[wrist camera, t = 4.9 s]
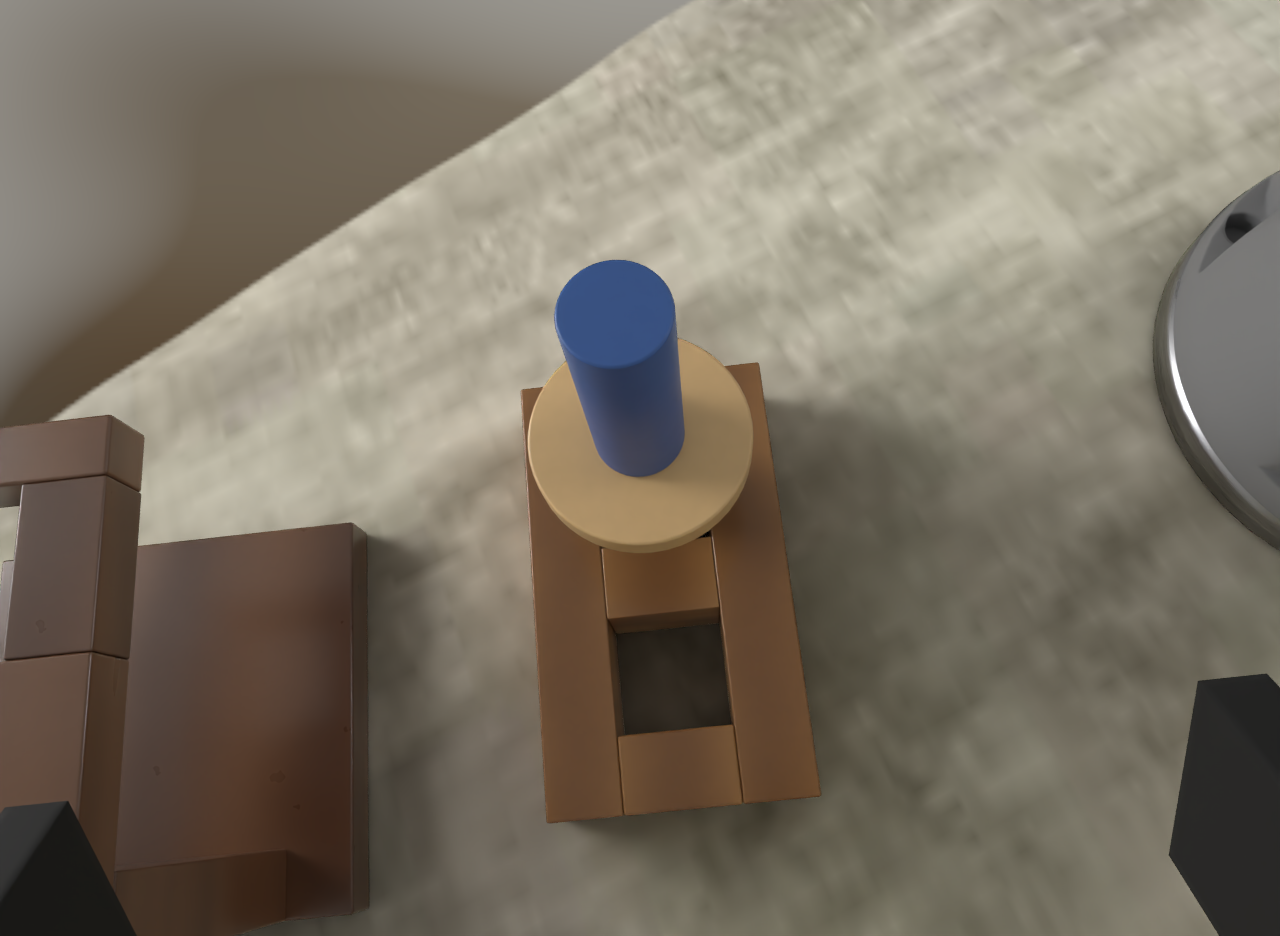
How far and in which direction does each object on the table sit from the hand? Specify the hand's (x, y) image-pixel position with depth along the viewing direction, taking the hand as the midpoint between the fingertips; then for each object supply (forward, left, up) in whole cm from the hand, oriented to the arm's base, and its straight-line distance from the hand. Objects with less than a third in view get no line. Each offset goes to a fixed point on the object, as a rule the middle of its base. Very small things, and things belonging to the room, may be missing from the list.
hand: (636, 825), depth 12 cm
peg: (0, -9, -20) cm, 22 cm away
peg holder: (0, -7, -20) cm, 21 cm away
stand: (+16, -4, -20) cm, 26 cm away
